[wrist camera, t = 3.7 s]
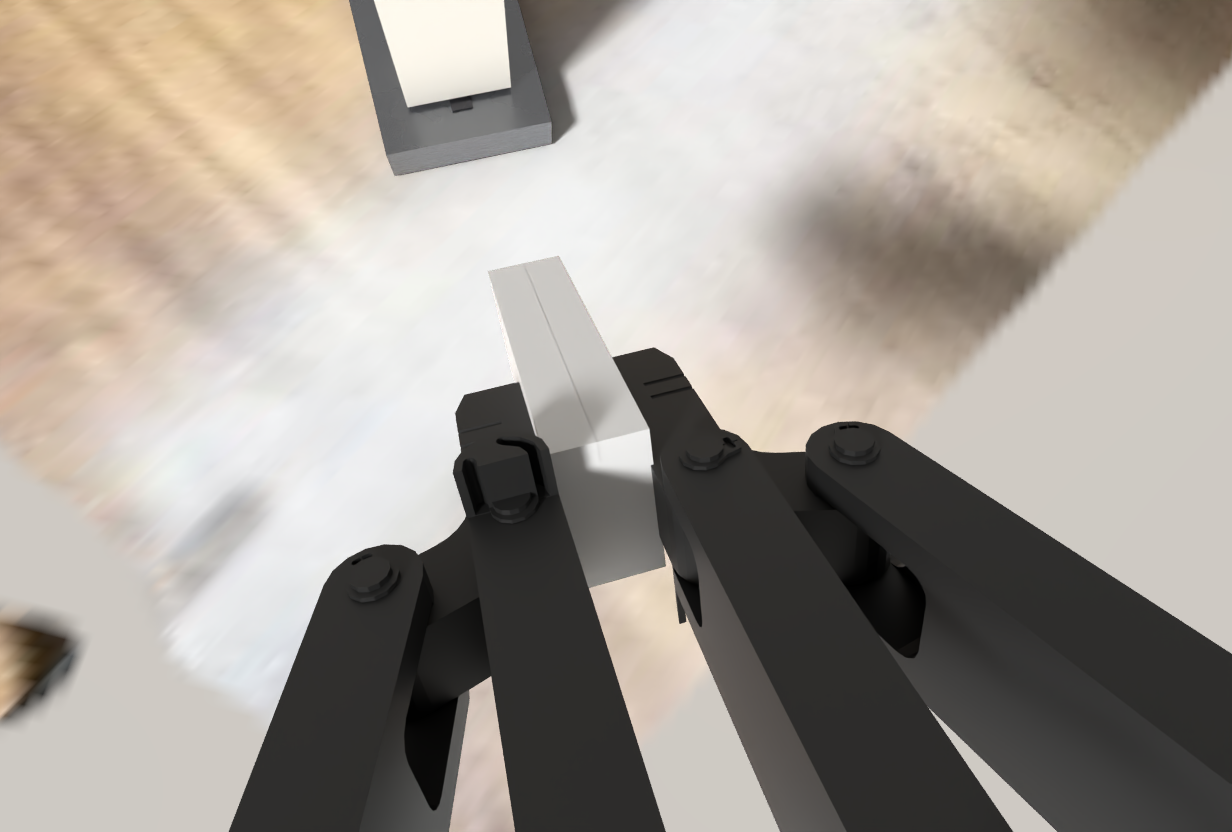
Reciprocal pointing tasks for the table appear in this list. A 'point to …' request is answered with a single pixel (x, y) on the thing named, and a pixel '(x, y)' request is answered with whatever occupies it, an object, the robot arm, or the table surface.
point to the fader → (446, 47)
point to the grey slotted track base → (454, 104)
